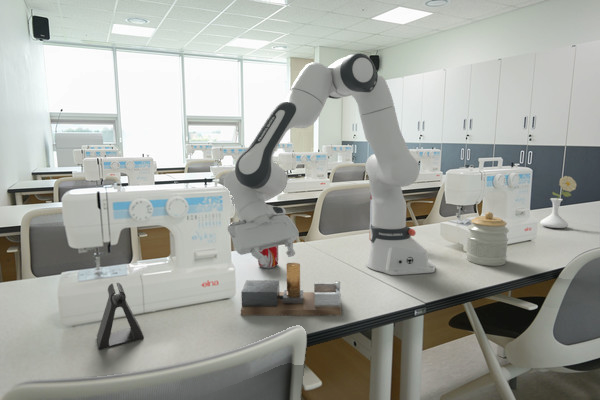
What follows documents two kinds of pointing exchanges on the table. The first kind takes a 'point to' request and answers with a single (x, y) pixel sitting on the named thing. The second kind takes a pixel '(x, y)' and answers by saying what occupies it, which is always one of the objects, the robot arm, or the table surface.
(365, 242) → the table surface
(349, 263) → the table surface
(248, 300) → the chain housing
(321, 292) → the keeper
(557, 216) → the flower in vase
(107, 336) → the black triangular stand
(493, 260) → the jar
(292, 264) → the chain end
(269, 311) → the rail board
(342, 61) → the robot arm
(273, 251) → the soda can
